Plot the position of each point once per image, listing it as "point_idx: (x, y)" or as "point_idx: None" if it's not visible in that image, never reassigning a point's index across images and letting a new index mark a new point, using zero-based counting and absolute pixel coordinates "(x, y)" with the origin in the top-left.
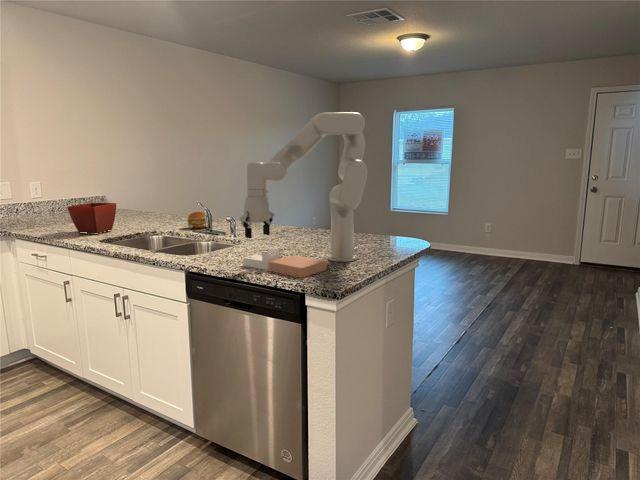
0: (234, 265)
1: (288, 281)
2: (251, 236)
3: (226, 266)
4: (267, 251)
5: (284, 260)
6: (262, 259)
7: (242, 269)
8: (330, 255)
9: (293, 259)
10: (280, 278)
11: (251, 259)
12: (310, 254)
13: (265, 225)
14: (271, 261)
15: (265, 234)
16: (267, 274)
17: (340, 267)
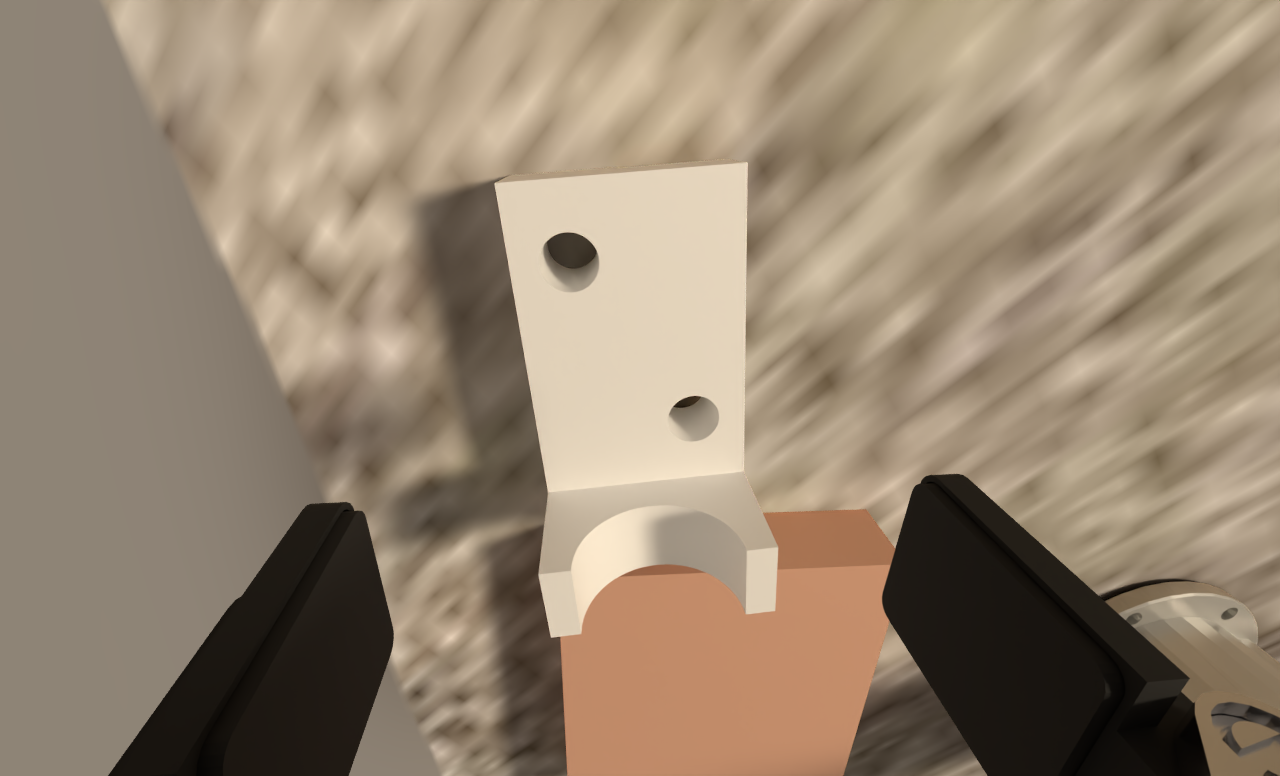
0: (430, 61)
1: (454, 762)
2: (374, 675)
3: (315, 3)
4: (567, 632)
5: (677, 638)
6: (546, 507)
7: (395, 306)
8: (1146, 616)
9: (750, 662)
10: (462, 701)
11: (521, 338)
12: (1238, 400)
13: (1072, 756)
14: None
15: (900, 537)
16: (463, 587)
17: (898, 760)
